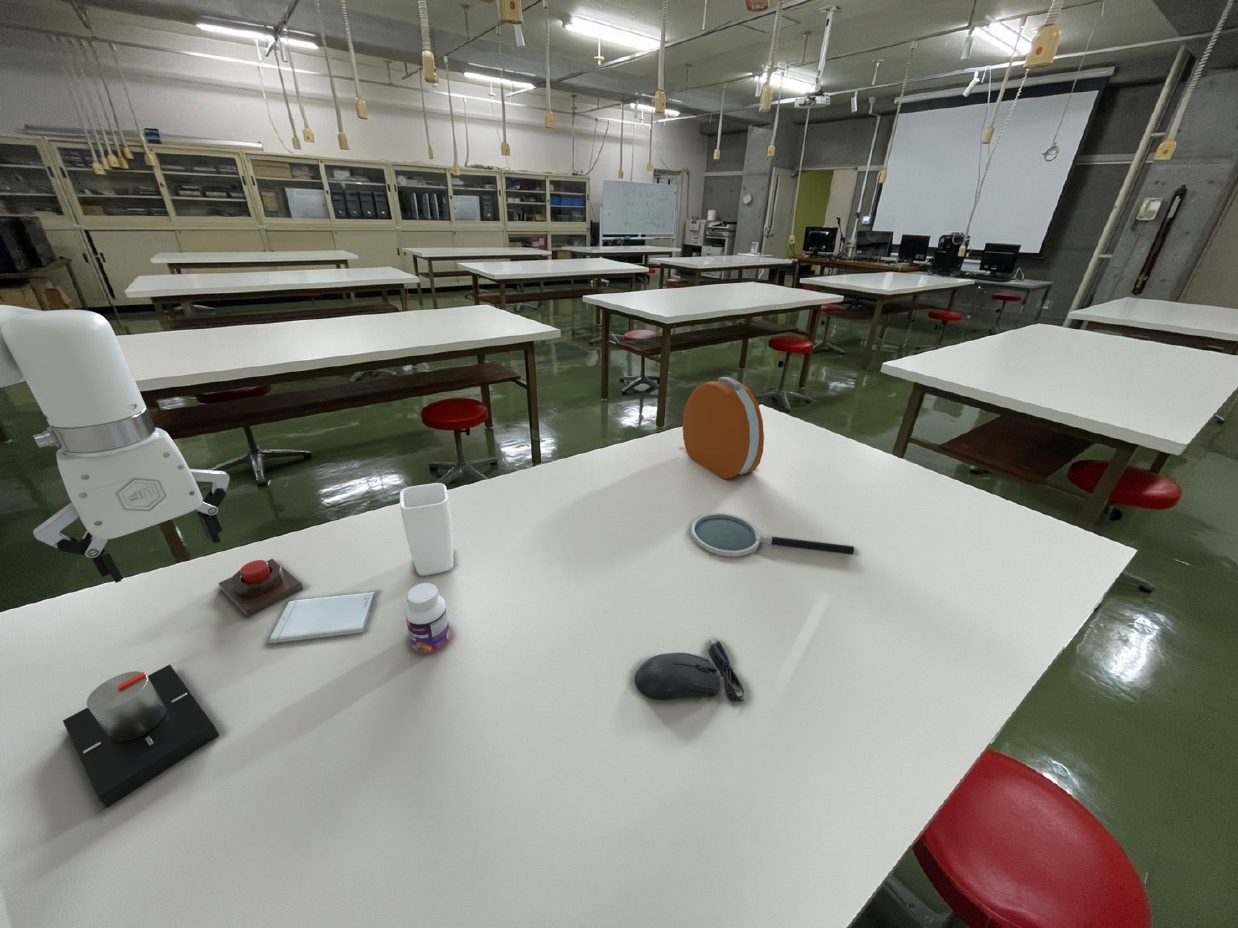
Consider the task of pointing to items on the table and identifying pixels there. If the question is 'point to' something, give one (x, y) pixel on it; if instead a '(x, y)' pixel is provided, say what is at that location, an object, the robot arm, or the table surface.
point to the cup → (428, 527)
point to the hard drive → (323, 617)
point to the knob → (126, 706)
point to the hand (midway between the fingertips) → (167, 556)
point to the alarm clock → (724, 428)
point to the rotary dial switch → (141, 741)
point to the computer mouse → (687, 675)
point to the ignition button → (255, 571)
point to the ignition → (260, 589)
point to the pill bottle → (426, 618)
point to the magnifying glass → (745, 537)
